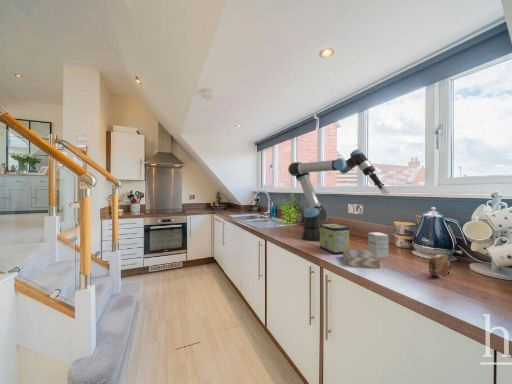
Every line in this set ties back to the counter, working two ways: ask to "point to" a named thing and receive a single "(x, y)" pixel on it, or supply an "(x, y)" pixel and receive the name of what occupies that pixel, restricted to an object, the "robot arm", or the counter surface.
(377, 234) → the supplement box
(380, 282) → the counter surface
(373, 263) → the brown shallow tray
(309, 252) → the counter surface
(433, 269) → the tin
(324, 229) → the protein box
